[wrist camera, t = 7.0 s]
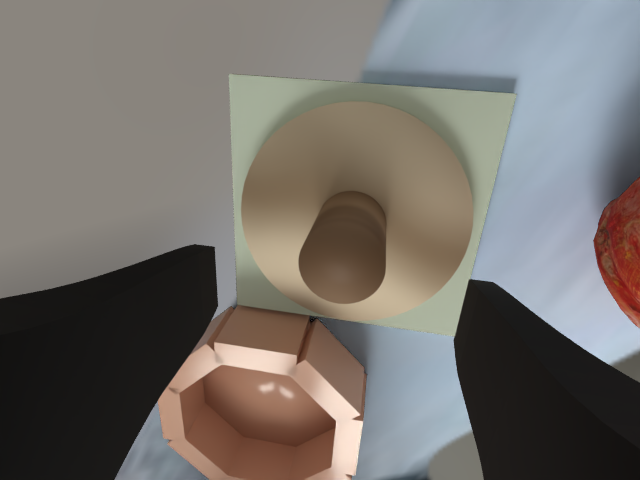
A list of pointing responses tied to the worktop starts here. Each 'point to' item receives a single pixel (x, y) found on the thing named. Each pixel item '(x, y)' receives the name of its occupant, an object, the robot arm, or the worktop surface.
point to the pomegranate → (621, 250)
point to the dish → (267, 400)
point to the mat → (422, 102)
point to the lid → (357, 211)
